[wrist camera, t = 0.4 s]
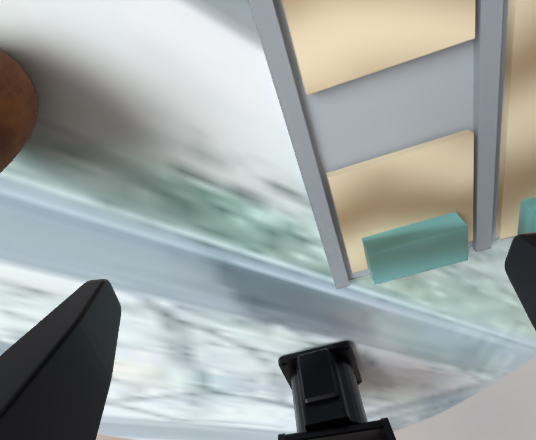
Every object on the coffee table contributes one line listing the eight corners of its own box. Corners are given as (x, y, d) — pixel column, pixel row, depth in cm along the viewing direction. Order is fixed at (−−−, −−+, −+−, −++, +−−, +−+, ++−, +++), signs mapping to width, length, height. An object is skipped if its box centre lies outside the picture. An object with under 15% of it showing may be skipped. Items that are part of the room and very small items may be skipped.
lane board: (636, 200, 25) (664, 216, 24) (334, 281, 28) (340, 301, 26) (857, -477, 11) (965, -552, 9) (195, -175, 14) (189, -193, 12)
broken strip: (468, 234, 25) (485, 256, 24) (350, 267, 26) (358, 289, 25) (469, -216, 13) (505, -243, 11) (249, -123, 14) (251, -134, 12)
